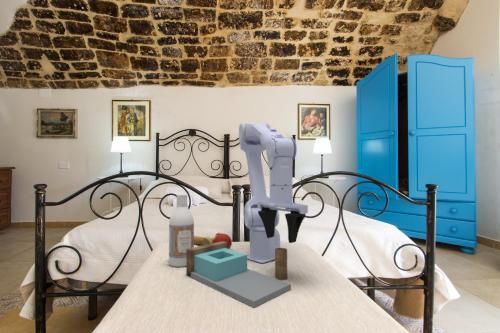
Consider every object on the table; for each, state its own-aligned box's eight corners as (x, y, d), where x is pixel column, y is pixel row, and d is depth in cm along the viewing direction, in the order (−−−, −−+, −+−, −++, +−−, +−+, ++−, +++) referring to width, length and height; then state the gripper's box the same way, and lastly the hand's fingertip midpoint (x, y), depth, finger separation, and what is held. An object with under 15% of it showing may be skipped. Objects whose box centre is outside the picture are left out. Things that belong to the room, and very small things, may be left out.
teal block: (224, 262, 77) (224, 247, 77) (247, 270, 71) (247, 254, 71) (194, 271, 70) (194, 255, 70) (216, 281, 63) (216, 263, 64)
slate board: (222, 264, 79) (222, 260, 79) (291, 289, 62) (290, 284, 62) (186, 275, 70) (186, 270, 71) (253, 307, 54) (253, 301, 54)
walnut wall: (222, 264, 79) (222, 241, 79) (227, 265, 78) (227, 242, 78) (186, 275, 70) (186, 249, 71) (190, 277, 69) (190, 250, 69)
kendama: (185, 250, 98) (219, 252, 87) (186, 232, 100) (220, 232, 88) (202, 249, 104) (236, 252, 92) (203, 232, 106) (237, 232, 94)
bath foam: (172, 269, 75) (172, 195, 75) (166, 262, 81) (167, 193, 81) (196, 265, 78) (197, 194, 79) (189, 258, 84) (190, 192, 85)
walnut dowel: (280, 274, 71) (280, 247, 71) (289, 277, 69) (289, 249, 69) (272, 277, 69) (272, 249, 69) (282, 280, 67) (282, 251, 67)
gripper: (249, 185, 72) (249, 237, 72) (295, 187, 62) (295, 248, 61) (267, 184, 77) (267, 233, 77) (312, 186, 67) (312, 242, 66)
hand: (281, 239), depth 69 cm, fingers open, 6 cm apart
